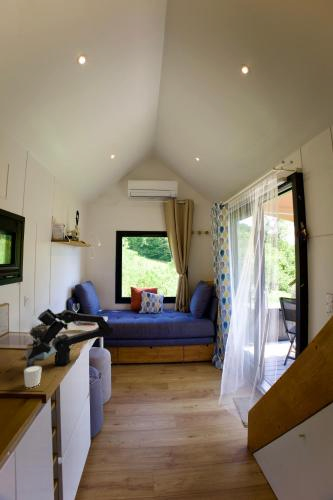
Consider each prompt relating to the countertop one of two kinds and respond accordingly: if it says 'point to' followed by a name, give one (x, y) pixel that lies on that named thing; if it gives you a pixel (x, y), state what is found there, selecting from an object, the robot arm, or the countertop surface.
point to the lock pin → (29, 350)
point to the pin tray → (44, 354)
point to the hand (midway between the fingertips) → (27, 357)
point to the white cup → (32, 376)
